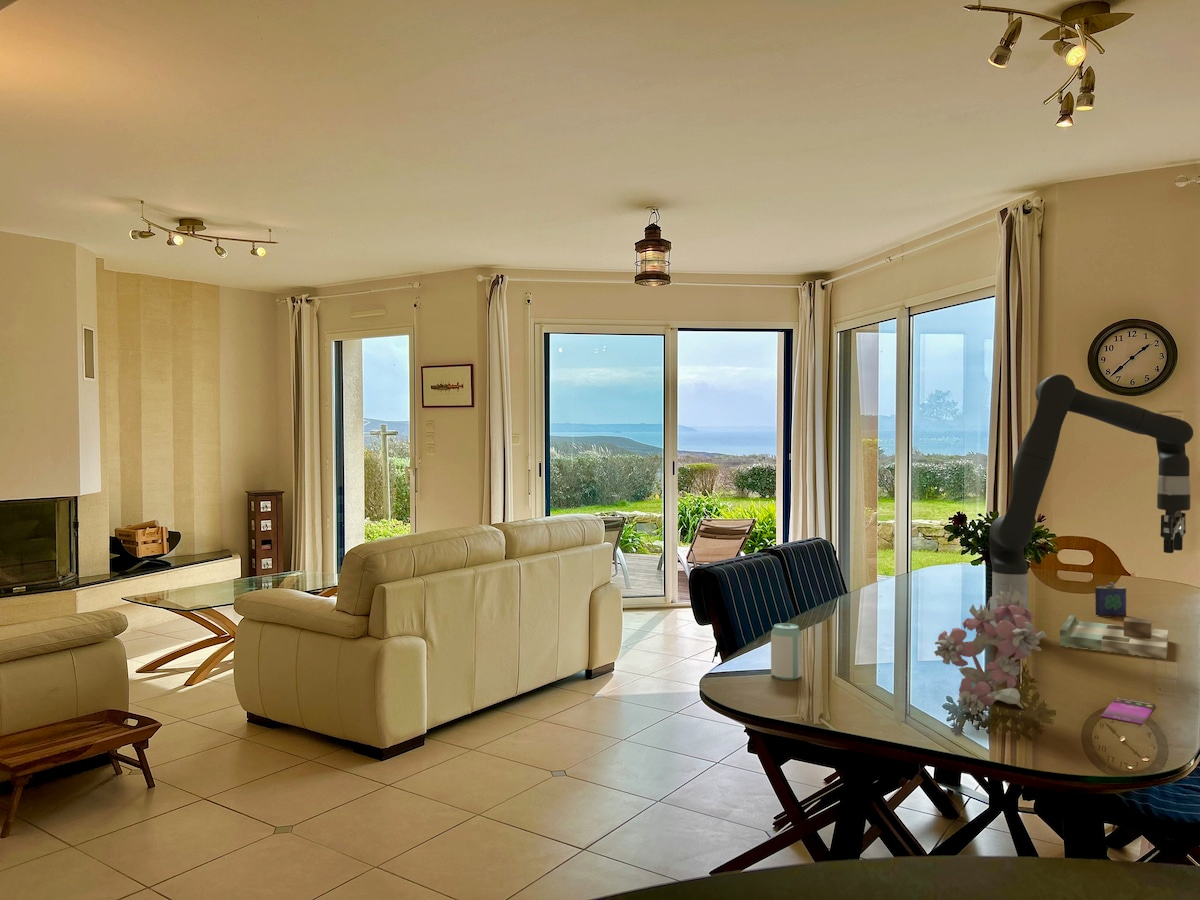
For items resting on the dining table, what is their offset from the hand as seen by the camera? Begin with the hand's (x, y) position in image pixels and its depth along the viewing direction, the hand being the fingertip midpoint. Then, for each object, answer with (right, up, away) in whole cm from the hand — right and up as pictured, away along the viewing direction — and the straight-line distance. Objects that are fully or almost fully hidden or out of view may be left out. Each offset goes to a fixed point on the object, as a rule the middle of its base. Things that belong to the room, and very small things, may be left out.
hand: (1173, 551), depth 229 cm
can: (-113, -26, -33) cm, 121 cm away
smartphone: (-50, -26, -60) cm, 82 cm away
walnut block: (-14, -22, -6) cm, 26 cm away
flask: (+3, -24, +33) cm, 41 cm away
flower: (-78, -26, -57) cm, 100 cm away
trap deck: (-18, -25, -3) cm, 31 cm away
